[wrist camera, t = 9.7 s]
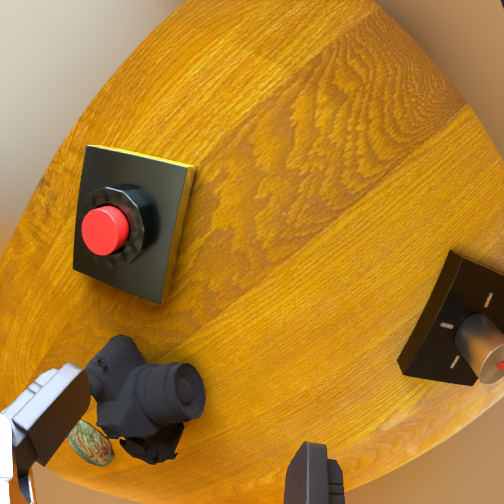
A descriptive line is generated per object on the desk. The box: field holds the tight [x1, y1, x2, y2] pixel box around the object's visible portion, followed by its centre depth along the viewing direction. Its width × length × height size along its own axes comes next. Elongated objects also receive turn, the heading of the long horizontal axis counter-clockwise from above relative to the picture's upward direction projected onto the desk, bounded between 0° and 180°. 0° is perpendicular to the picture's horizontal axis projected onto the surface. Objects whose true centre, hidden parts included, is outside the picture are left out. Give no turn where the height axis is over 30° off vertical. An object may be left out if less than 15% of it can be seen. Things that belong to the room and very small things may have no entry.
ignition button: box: [82, 206, 129, 255], centre depth 22 cm, size 4×4×2 cm
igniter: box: [73, 145, 196, 304], centre depth 25 cm, size 12×10×4 cm
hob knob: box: [455, 313, 504, 384], centre depth 20 cm, size 4×4×6 cm
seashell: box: [67, 420, 114, 466], centre depth 37 cm, size 10×4×10 cm
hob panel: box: [397, 250, 504, 386], centre depth 24 cm, size 12×10×3 cm
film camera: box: [85, 335, 206, 465], centre depth 27 cm, size 15×10×9 cm, turn 21°
